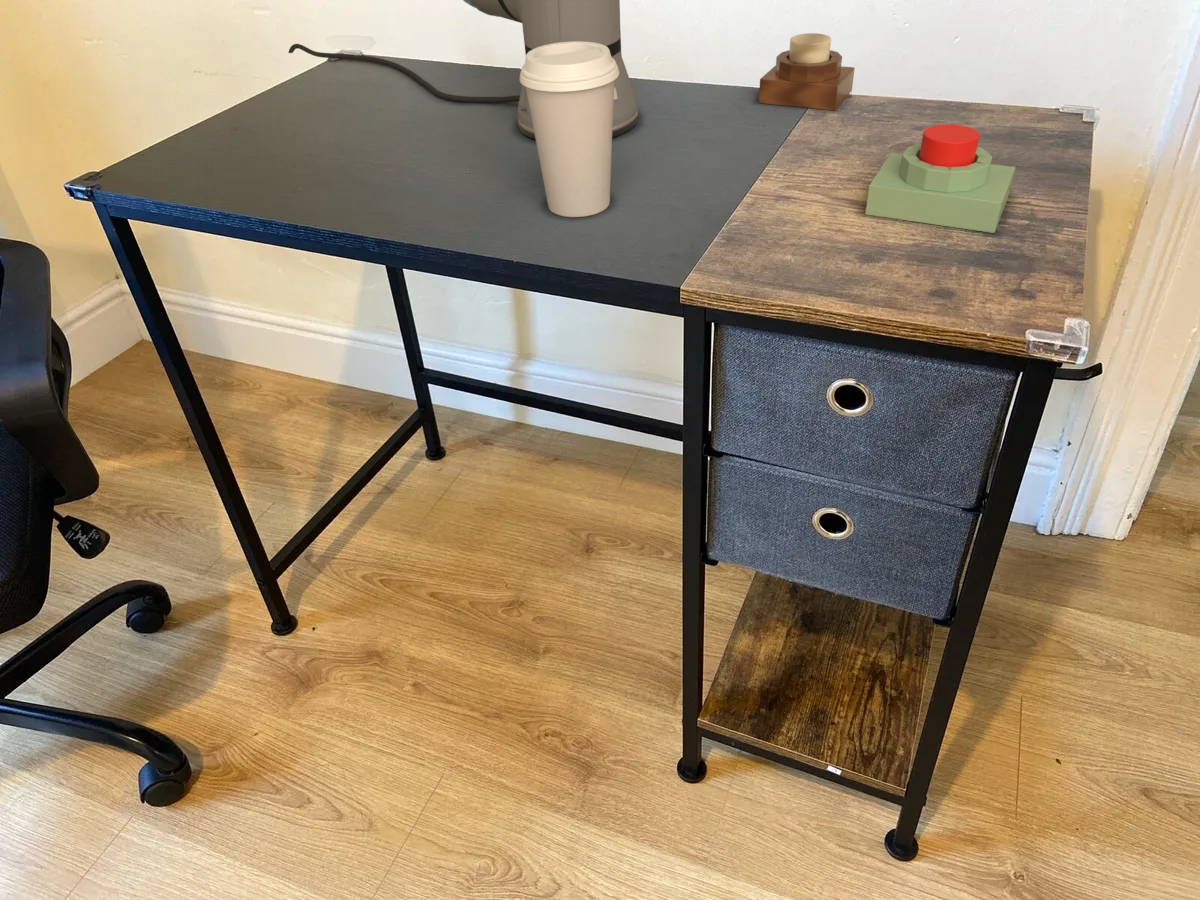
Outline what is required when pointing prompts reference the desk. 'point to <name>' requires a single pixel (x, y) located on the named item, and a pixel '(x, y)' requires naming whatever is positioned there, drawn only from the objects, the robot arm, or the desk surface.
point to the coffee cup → (572, 123)
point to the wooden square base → (807, 83)
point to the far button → (809, 48)
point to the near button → (949, 145)
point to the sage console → (941, 191)
